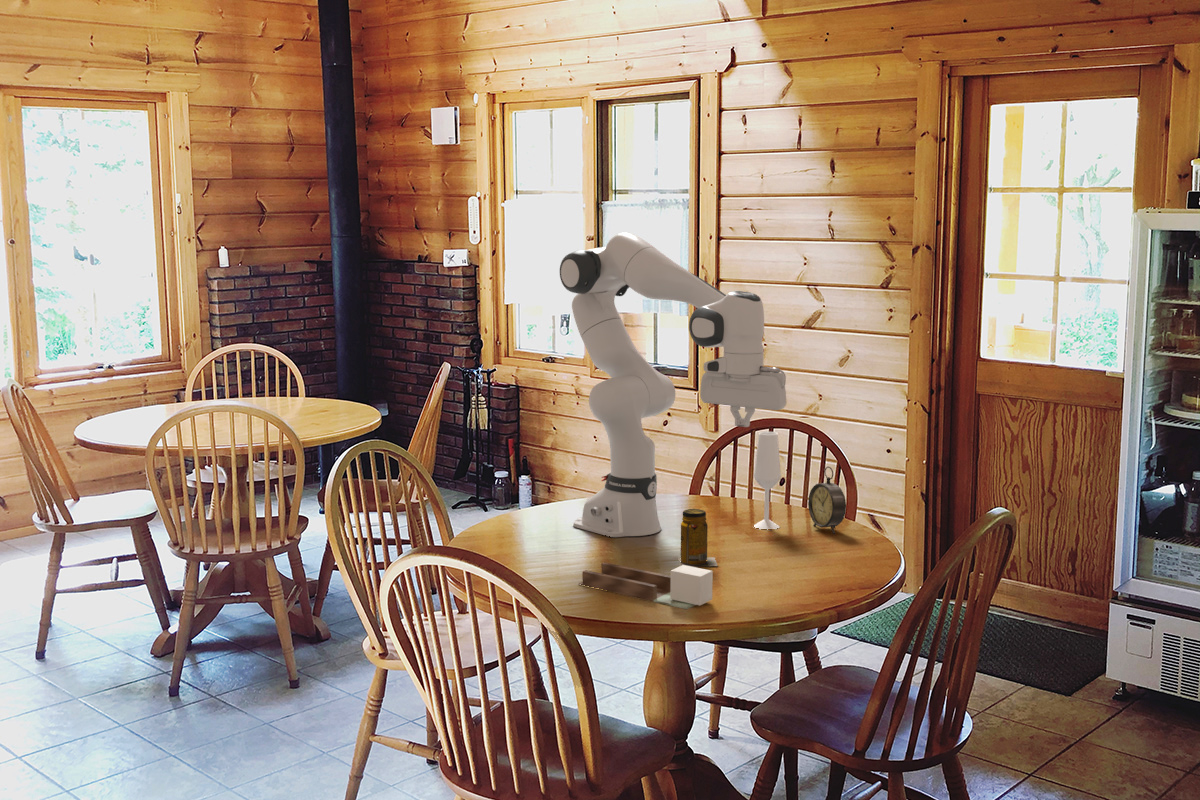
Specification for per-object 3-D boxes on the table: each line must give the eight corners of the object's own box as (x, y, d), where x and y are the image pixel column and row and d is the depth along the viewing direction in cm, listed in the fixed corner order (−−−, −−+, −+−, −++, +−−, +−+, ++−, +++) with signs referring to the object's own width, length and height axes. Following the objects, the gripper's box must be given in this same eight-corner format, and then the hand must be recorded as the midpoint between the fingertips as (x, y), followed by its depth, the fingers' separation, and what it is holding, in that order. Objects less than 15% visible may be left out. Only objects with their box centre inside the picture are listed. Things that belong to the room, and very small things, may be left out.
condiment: (678, 558, 271) (678, 507, 269) (715, 558, 271) (715, 507, 269) (680, 567, 263) (680, 515, 262) (717, 567, 263) (718, 515, 261)
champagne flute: (749, 528, 296) (751, 434, 292) (756, 522, 302) (758, 430, 298) (776, 531, 293) (778, 436, 290) (782, 524, 300) (784, 431, 296)
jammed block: (670, 599, 239) (670, 570, 238) (682, 593, 243) (683, 564, 242) (700, 605, 235) (700, 576, 234) (712, 599, 239) (712, 570, 238)
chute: (578, 585, 250) (578, 570, 250) (601, 575, 257) (601, 561, 257) (687, 609, 235) (687, 593, 234) (708, 598, 242) (708, 583, 241)
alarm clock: (806, 525, 298) (807, 463, 296) (824, 523, 301) (825, 461, 298) (831, 536, 289) (832, 471, 286) (849, 534, 291) (851, 469, 288)
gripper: (792, 366, 258) (790, 428, 260) (711, 360, 270) (710, 419, 272) (779, 369, 253) (777, 433, 255) (697, 363, 265) (696, 423, 267)
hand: (742, 426), depth 264 cm, fingers closed
